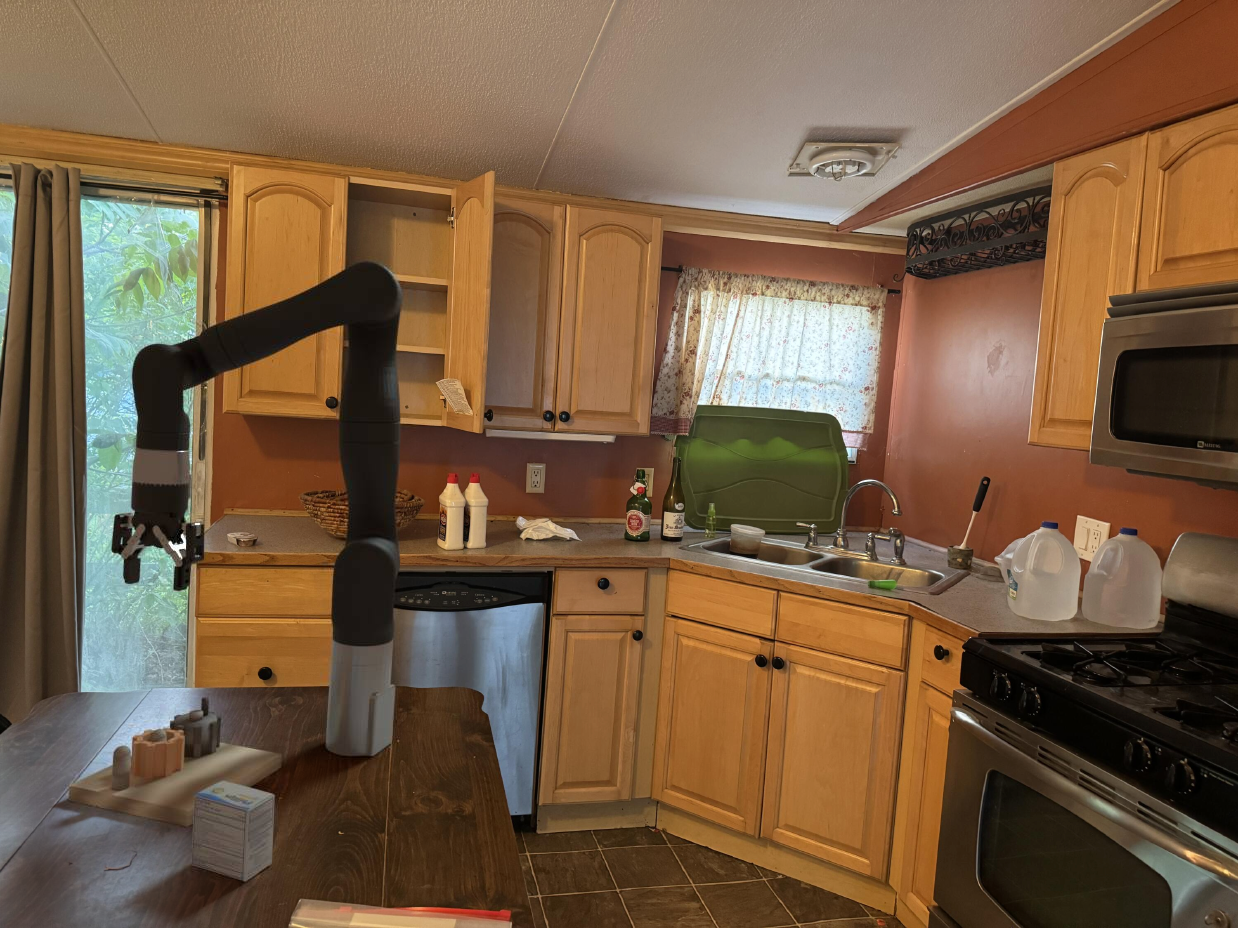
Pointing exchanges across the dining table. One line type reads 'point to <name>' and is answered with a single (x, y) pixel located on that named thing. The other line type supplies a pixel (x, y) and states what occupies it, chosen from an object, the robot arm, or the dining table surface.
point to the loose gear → (157, 754)
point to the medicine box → (233, 830)
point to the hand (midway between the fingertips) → (155, 586)
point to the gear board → (176, 772)
